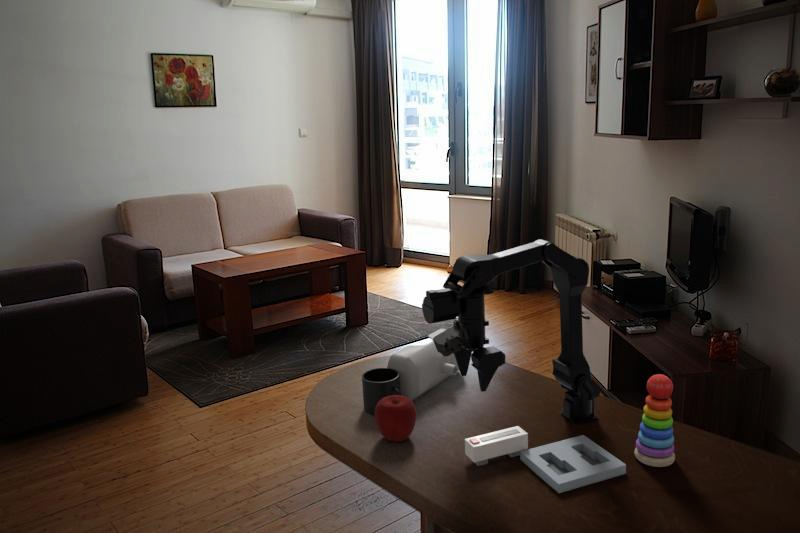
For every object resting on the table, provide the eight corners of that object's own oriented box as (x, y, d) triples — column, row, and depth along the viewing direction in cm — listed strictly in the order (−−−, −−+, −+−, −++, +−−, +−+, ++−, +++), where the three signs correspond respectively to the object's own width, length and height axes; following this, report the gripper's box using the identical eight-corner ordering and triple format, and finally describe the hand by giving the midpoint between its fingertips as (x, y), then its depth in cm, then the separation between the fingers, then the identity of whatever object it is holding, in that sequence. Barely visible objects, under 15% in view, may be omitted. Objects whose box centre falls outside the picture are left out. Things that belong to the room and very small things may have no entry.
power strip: (518, 446, 149) (518, 424, 148) (527, 455, 145) (527, 432, 144) (465, 460, 145) (464, 437, 143) (474, 469, 141) (473, 446, 140)
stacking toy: (655, 472, 136) (659, 386, 132) (626, 455, 143) (628, 373, 139) (683, 461, 140) (688, 377, 135) (652, 445, 147) (656, 364, 142)
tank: (429, 410, 169) (427, 363, 166) (378, 396, 178) (376, 352, 175) (479, 376, 188) (478, 333, 185) (432, 365, 198) (430, 324, 195)
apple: (425, 440, 154) (423, 399, 152) (389, 452, 149) (386, 411, 147) (403, 424, 162) (401, 385, 160) (368, 436, 157) (365, 396, 155)
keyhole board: (583, 443, 149) (583, 434, 149) (625, 473, 137) (626, 464, 136) (520, 460, 144) (520, 451, 143) (558, 493, 131) (558, 484, 130)
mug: (388, 423, 163) (386, 388, 161) (356, 409, 172) (354, 375, 169) (416, 410, 169) (414, 376, 167) (383, 396, 178) (382, 364, 176)
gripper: (419, 309, 150) (422, 375, 154) (456, 334, 133) (459, 407, 137) (464, 302, 154) (466, 366, 158) (506, 325, 137) (507, 396, 141)
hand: (473, 383), depth 148 cm, fingers open, 9 cm apart
